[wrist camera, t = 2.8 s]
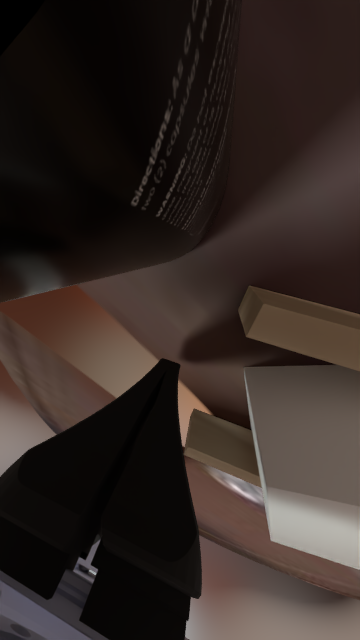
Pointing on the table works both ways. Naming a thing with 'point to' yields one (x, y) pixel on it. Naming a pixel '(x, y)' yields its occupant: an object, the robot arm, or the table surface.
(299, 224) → the table surface
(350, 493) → the beige cube
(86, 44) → the supplement bottle
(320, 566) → the table surface
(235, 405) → the table surface
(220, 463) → the chute
